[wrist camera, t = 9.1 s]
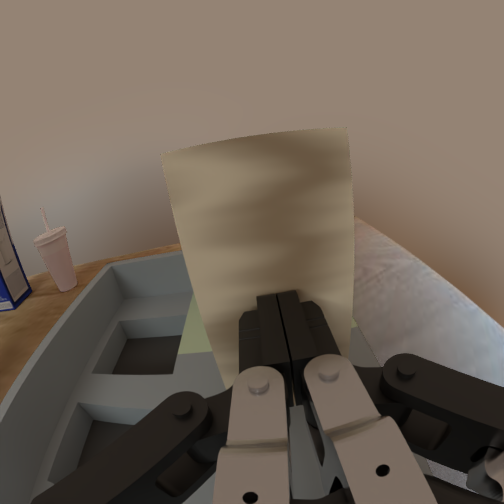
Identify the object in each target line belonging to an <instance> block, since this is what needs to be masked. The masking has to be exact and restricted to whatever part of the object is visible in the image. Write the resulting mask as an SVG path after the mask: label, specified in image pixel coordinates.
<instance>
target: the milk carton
mask: <svg viewBox="0 0 504 504" xmlns="http://www.w3.org/2000/svg"><path fill="white" fill-rule="evenodd" d="M31 292H32V289H31V287H30V285H29V282H28V280H27V278H26V275H25V273H24V271H23V268H22V265H21V263H20V260H19V257H18V255H17V252H16V249H15V246H14V243H13V240H12V238H11V234H10V231H9V228H8V224H7V221H6V217H5V213H4V209H3V205H2V201H1V197H0V311H7V310H15V309H16V308H17V307H18V306H19V305H20V304H21V303H22V302H23V301H24V299H25V298H26V297H27V296H28V295H29V294H30V293H31Z"/></svg>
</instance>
